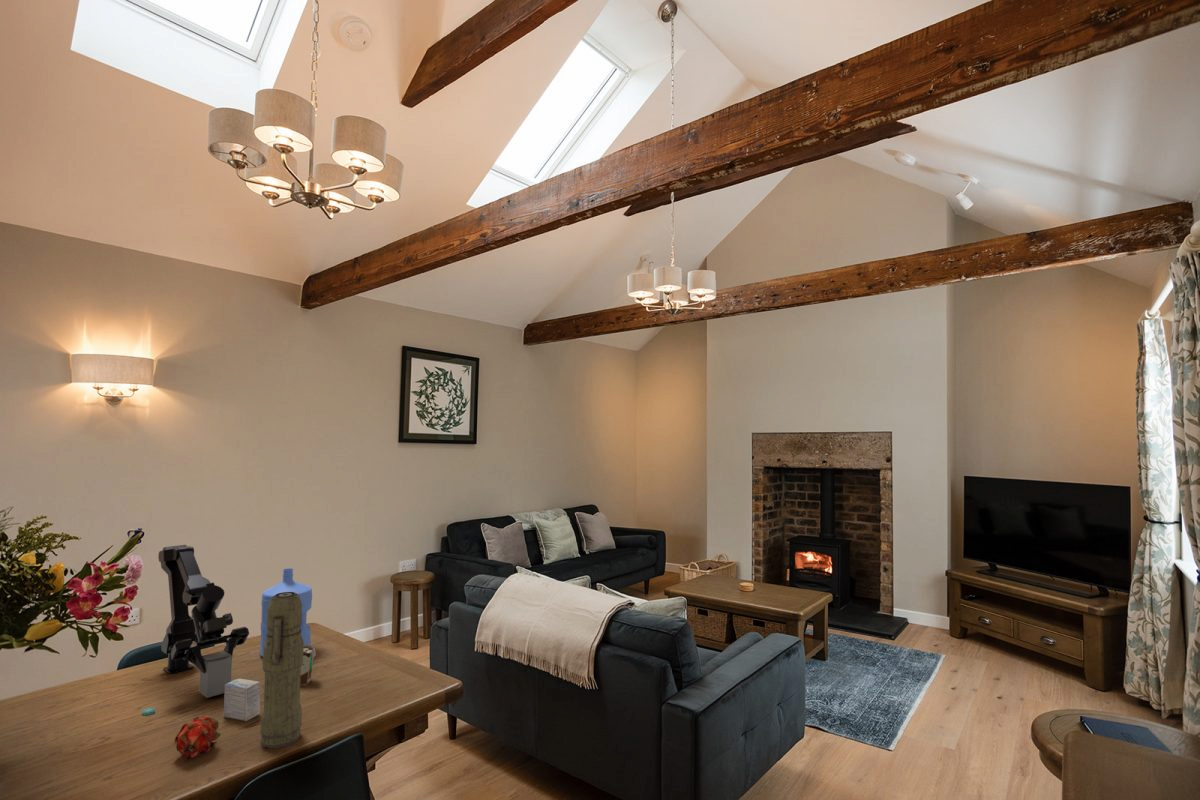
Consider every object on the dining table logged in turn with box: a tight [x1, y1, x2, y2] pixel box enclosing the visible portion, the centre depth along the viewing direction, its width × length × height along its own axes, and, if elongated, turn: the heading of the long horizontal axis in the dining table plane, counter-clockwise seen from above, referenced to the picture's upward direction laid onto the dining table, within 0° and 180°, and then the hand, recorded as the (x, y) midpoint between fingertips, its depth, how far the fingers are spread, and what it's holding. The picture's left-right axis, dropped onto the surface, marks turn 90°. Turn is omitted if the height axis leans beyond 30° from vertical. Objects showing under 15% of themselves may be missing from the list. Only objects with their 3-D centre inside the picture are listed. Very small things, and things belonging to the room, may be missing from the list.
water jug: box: [259, 568, 313, 658], centre depth 210 cm, size 16×16×28 cm
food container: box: [300, 644, 317, 685], centre depth 185 cm, size 12×6×10 cm, turn 84°
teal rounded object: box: [141, 707, 156, 716], centre depth 163 cm, size 3×3×1 cm
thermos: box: [259, 592, 304, 749], centre depth 150 cm, size 9×12×35 cm
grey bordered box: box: [199, 650, 233, 699], centre depth 174 cm, size 6×6×10 cm
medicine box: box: [223, 678, 261, 722], centre depth 162 cm, size 8×4×9 cm, turn 71°
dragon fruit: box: [174, 714, 221, 761], centre depth 142 cm, size 8×8×12 cm
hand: (217, 669), depth 173 cm, fingers closed on grey bordered box, 6 cm apart
